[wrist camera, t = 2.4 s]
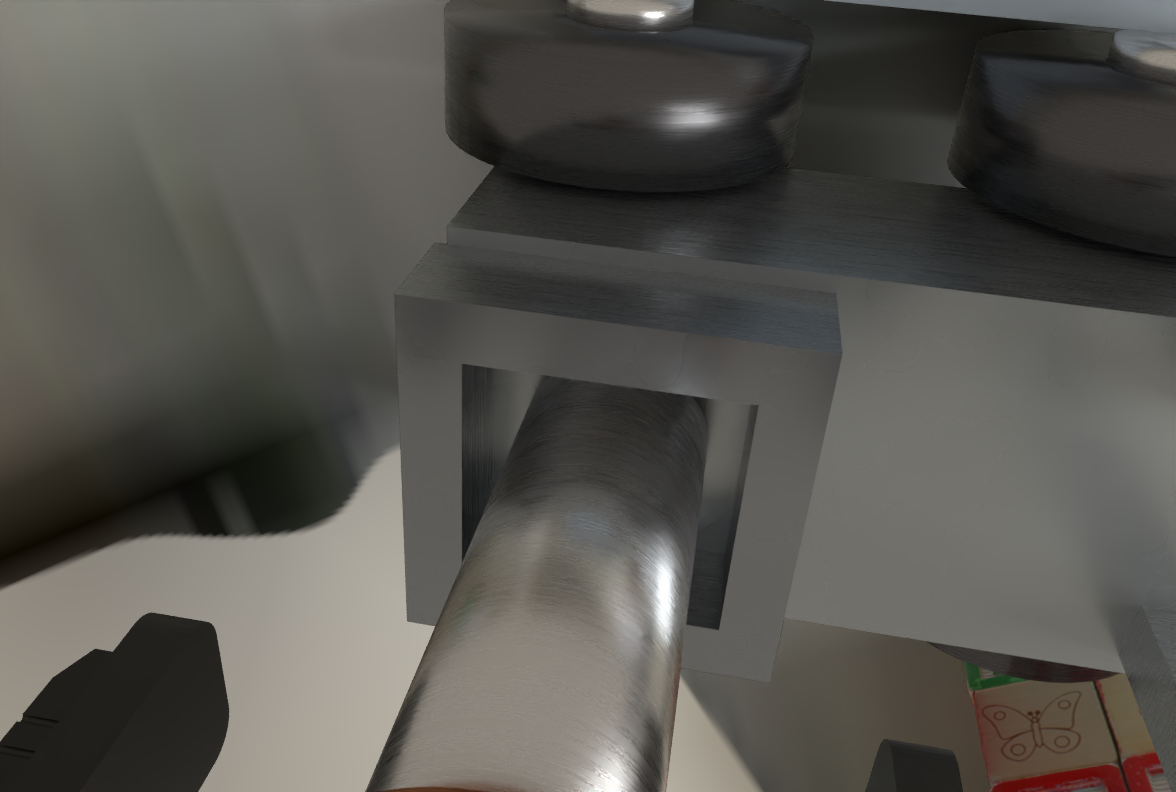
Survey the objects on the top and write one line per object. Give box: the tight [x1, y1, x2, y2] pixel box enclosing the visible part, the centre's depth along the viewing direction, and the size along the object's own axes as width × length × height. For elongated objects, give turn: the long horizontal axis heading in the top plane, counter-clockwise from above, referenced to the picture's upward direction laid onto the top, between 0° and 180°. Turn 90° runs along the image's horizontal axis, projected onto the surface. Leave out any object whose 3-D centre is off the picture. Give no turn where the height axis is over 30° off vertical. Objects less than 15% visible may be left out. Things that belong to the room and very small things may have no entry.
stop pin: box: [365, 376, 708, 792], centre depth 13 cm, size 4×4×10 cm
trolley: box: [394, 0, 1176, 792], centre depth 15 cm, size 17×12×22 cm
